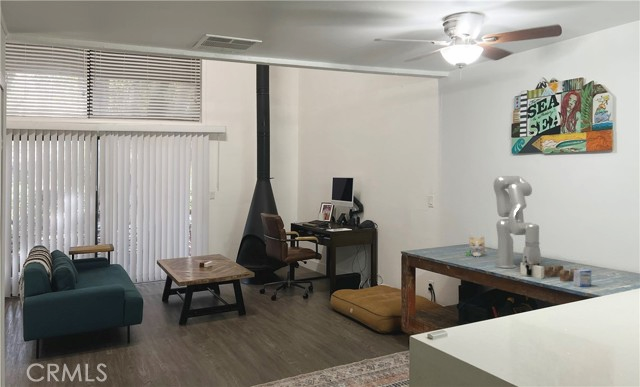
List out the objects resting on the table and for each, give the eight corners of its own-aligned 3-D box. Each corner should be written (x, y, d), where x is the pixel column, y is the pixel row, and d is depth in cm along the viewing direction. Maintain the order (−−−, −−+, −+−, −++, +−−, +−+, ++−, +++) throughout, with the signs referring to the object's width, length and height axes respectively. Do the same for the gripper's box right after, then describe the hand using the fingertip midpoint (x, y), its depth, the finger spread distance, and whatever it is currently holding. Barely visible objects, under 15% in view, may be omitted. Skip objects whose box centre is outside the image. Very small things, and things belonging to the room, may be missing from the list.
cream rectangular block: (520, 273, 289) (520, 262, 289) (523, 273, 290) (523, 262, 290) (541, 279, 275) (541, 267, 274) (543, 278, 275) (543, 267, 275)
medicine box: (579, 287, 254) (579, 271, 253) (573, 285, 258) (573, 269, 258) (591, 286, 256) (591, 270, 256) (584, 284, 260) (585, 268, 260)
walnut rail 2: (563, 281, 267) (563, 271, 267) (560, 280, 269) (560, 270, 269) (579, 279, 271) (579, 269, 271) (575, 278, 274) (575, 268, 273)
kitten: (465, 257, 349) (465, 237, 349) (465, 254, 359) (465, 235, 358) (487, 257, 345) (487, 237, 344) (486, 255, 354) (486, 235, 353)
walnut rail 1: (547, 277, 277) (548, 267, 277) (544, 276, 280) (544, 266, 279) (563, 275, 282) (563, 265, 281) (559, 275, 284) (559, 265, 284)
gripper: (537, 243, 288) (537, 272, 289) (516, 244, 282) (516, 275, 283) (547, 244, 281) (547, 275, 282) (526, 246, 275) (525, 277, 276)
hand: (531, 274), depth 282 cm, fingers open, 3 cm apart
